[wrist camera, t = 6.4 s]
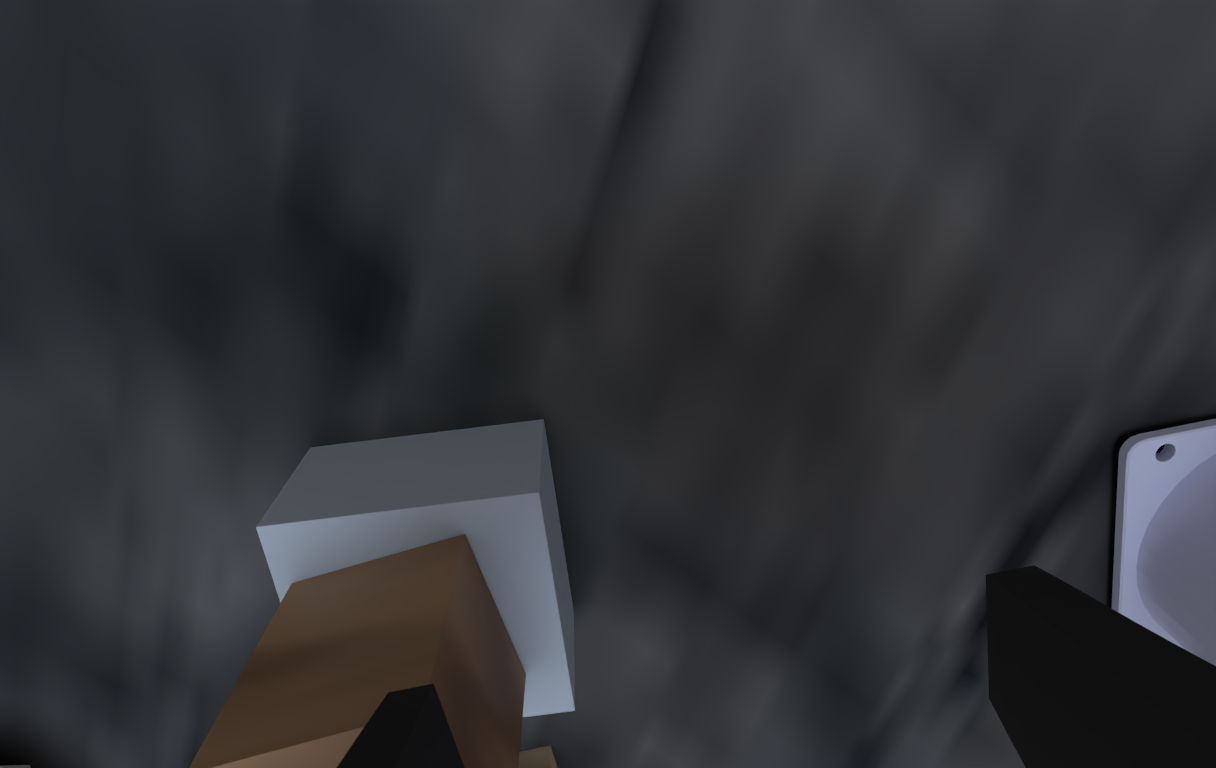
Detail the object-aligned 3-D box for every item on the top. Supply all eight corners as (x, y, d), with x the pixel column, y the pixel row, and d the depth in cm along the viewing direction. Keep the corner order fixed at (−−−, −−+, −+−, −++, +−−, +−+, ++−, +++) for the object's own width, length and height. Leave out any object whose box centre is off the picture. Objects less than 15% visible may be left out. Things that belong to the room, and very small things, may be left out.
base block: (544, 415, 20) (538, 492, 17) (573, 605, 22) (574, 710, 19) (313, 443, 20) (256, 526, 16) (365, 630, 22) (325, 741, 19)
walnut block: (525, 674, 18) (509, 880, 14) (365, 717, 19) (295, 933, 14) (464, 534, 17) (422, 711, 12) (291, 583, 17) (184, 774, 12)
